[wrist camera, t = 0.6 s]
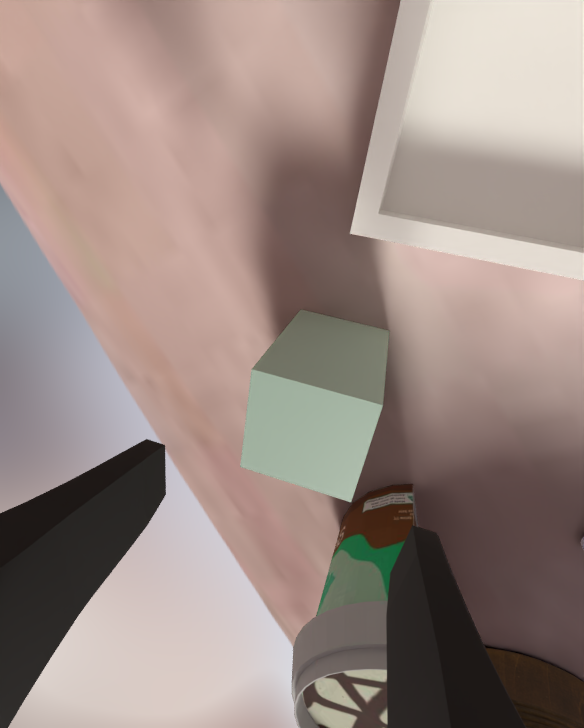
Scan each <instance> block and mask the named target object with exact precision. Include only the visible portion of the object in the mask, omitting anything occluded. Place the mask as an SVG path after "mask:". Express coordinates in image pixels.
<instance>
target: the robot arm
mask: <svg viewBox="0 0 584 728" xmlns="http://www.w3.org/2000/svg"><path fill="white" fill-rule="evenodd" d="M165 489H166V482H165V445H163V444H160V443H157V442H153V441H151V440H147V439H146V440H144V441H142V442H141V443H139V444H137V445H135V446H133V447H131V448H129V449H128V450H126V451H124V452H122V453H120V454H118V455H117V456H115V457H113V458H111V459H109V460H107V461H106V462H104V463H102V464H100V465H99V466H97V467H95V468H93V469H91V470H89V471H87V472H85V473H83V474H81V475H79V476H78V477H76V478H74V479H72V480H70V481H68V482H66V483H64V484H62V485H60V486H58V487H56V488H54V489H52V490H50V491H48V492H46V493H44V494H42V495H40V496H37V497H35V498H33V499H31V500H29V501H28V502H25V503H23V504H21V505H18V506H16V507H14V508H12V509H9V510H7V511H5V512H2V513H0V728H8V727H9V725H10V723H11V721H12V720H13V718H14V716H15V715H16V713H17V711H18V710H19V708H20V706H21V705H22V703H23V701H24V700H25V698H26V697H27V695H28V693H29V692H30V690H31V688H32V687H33V685H34V684H35V682H36V681H37V679H38V677H39V676H40V674H41V672H42V671H43V669H44V668H45V666H46V664H47V663H48V661H49V660H50V658H51V657H52V655H53V653H54V652H55V650H56V649H57V647H58V646H59V644H60V643H61V641H62V640H63V638H64V637H65V635H66V633H67V632H68V630H69V629H70V627H71V626H72V624H73V623H74V621H75V620H76V618H77V617H78V615H79V614H80V613H81V611H82V610H83V608H84V607H85V606H86V604H87V603H88V602H89V600H90V599H91V597H92V596H93V595H94V593H95V592H96V591H97V590H98V588H99V587H100V586H101V585H102V583H103V582H104V581H105V579H106V578H107V577H108V576H109V574H110V573H111V572H112V570H113V569H114V568H115V567H116V565H117V564H118V563H119V561H120V560H121V559H122V557H123V556H124V555H125V554H126V552H127V551H128V550H129V549H130V547H131V546H132V545H133V543H134V542H135V541H136V539H137V538H138V537H139V536H140V534H141V533H142V531H143V530H144V529H145V527H146V526H147V525H148V523H149V521H150V520H151V518H152V517H153V515H154V513H155V512H156V510H157V508H158V507H159V505H160V503H161V502H162V500H163V498H164V496H165V495H166V490H165ZM581 545H582V547H583V549H584V537H583V538H582V539H581ZM386 635H387V728H526V726H525V724H524V723H523V721H522V719H521V717H520V715H519V713H518V712H517V710H516V708H515V706H514V704H513V702H512V700H511V698H510V696H509V694H508V693H507V691H506V689H505V687H504V685H503V683H502V681H501V679H500V677H499V675H498V673H497V671H496V669H495V667H494V665H493V663H492V661H491V659H490V657H489V655H488V652H487V650H486V648H485V646H484V644H483V642H482V640H481V638H480V635H479V633H478V631H477V629H476V627H475V624H474V622H473V620H472V618H471V615H470V613H469V611H468V609H467V607H466V604H465V602H464V600H463V597H462V595H461V593H460V590H459V588H458V585H457V583H456V580H455V578H454V576H453V573H452V571H451V568H450V566H449V563H448V560H447V558H446V555H445V553H444V550H443V547H442V545H441V542H440V539H439V537H438V535H437V534H436V533H435V532H432V531H429V530H426V529H422V528H419V527H416V526H413V525H412V527H411V529H410V531H409V533H408V536H407V538H406V540H405V542H404V544H403V546H402V549H401V551H400V553H399V555H398V557H397V559H396V562H395V564H394V566H393V568H392V570H391V572H390V581H389V591H388V602H387V614H386Z"/></svg>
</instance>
